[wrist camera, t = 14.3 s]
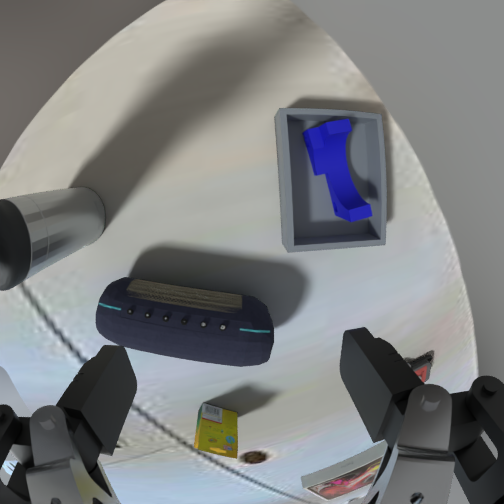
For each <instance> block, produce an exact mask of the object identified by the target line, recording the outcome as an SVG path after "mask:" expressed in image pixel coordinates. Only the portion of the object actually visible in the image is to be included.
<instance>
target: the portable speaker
mask: <svg viewBox="0 0 504 504" xmlns="http://www.w3.org/2000/svg"><path fill="white" fill-rule="evenodd" d="M154 287H155V288H154ZM157 289H158V290H157ZM159 289H160V290H161V291H160V290H159ZM172 290H173V291H172ZM178 291H179V292H178ZM165 292H166V293H165ZM183 293H184V294H186V295H187V296H186V295H184V294H183ZM179 294H180V295H179ZM191 295H192V296H191ZM203 295H204V296H203ZM189 296H190V297H189ZM199 296H200V297H199ZM205 296H206V297H207V298H206V297H205ZM203 297H204V298H203ZM211 299H212V300H211ZM96 328H97V330H98V331H99V333H100V334H101V335H102V336H104V337H105V338H106V339H108V340H110V341H112V342H114V343H116V344H118V345H120V346H123V347H127V348H131V349H136V350H140V351H145V352H149V353H154V354H159V355H164V356H170V357H175V358H181V359H187V360H193V361H199V362H206V363H214V364H221V365H230V366H239V367H243V366H253V365H260V364H262V363H265V362H267V361H268V360H269V358H270V354H271V350H272V347H273V343H274V327H273V323H272V319H271V317H270V314H269V312H268V309H267V306H266V305H265V304H263V303H262V302H261V301H259V300H258V299H257V298H255V297H252V296H246V295H238V294H230V293H223V292H216V291H209V290H202V289H195V288H188V287H182V286H176V285H169V284H163V283H157V282H151V281H146V280H140V279H134V278H127V277H124V278H121V279H119V280H116V281H114V282H112V283H111V284H109V285H108V286H107V287H106V289H105V290H104V292H103V294H102V295H101V297H100V299H99V303H98V307H97V311H96Z"/></svg>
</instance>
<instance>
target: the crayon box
mask: <svg viewBox="0 0 504 504" xmlns="http://www.w3.org/2000/svg"><path fill="white" fill-rule="evenodd" d="M194 447H195V448H198V450H201V451H205V452H209V453H213V454H217V455H221V456H226V457H231V458H236V459H237V453H238V452H237V450H238V432H237V412H232V411H229V410H225V409H222V408H219V407H215V406H212V405H208V404H206V403H203V404H202V405H201V407H200V409H199V412H198V419H197V427H196V435H195V442H194Z"/></svg>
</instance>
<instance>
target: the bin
mask: <svg viewBox="0 0 504 504" xmlns="http://www.w3.org/2000/svg"><path fill="white" fill-rule="evenodd" d="M274 118H275V131H276V144H277V158H278V173H279V190H280V208H281V228H282V244H283V245H284V247H285V249H286V250H287V252H288V253H289V252H302V251H315V250H328V249H341V248H354V247H367V246H379V245H385V244H386V216H387V189H386V161H385V146H384V134H383V124H382V115H381V114H377V113H369V112H359V111H348V110H334V109H312V108H279V110H278V111H277V113H276V115H275V117H274ZM343 119H349V121H350V125H351V128H352V131H351V132H350V133H349V134H348V136H347V139H346V160H347V165H348V169H349V173H350V176H351V179H352V181H353V184H354V186H355V188H356V190H357V191H358V193H359V195H360V196H361V197H362V199H363V200H364V201H366V202H367V203H369V204H370V205H371V210H372V216H371V217H368V218H364V219H361V220H357V221H354V222H349V221H347V220H345V219H342V218H340V217H338V216H335V213H334V209H333V205H332V200H331V196H330V192H329V188H328V184H327V180H326V176H325V174H322V175H317V176H314V172H313V169H312V165H311V161H310V158H309V154H308V151H307V147H306V144H305V141H304V137H303V134H302V133H303V132H304V131H306V130H307V129H311V128H316V127H319V126H321V125H323V124H324V123H326V122H332V121H337V120H343Z"/></svg>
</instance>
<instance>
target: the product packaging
mask: <svg viewBox="0 0 504 504" xmlns="http://www.w3.org/2000/svg"><path fill="white" fill-rule="evenodd" d="M387 445H388V444H387V442H386V440H385V441H383V442H381V443H379V444H377V445H375V446H373V447H372V448H370V449H368V450H366V451H364V452H361V453H359V454H357V455H355V456H353V457H351V458H349V459H346V460H344V461H342V462H339V463H337V464H335V465H332V466H330V467H327V468H324V469H322V470H319V471H317V472H314V473H311V474H308V475H305V476H302V477H301V480H302V486H303V489H305V490H307V491H309V492H310V493H312V494H314V495H316V496H318V497H320V498H322V499H324V500H326V501H329V500H332V499H335V498H338V497H340V496H343V495H346V494H348V493H351V492H353V491H356V490H358V489H361V488H363V487H365V486H367V485H370V484H372V482H373V480H374V478H375V475H376V473H377V470H378V468H379V465H380V463H381V460H382V457H383V454H384V452H385V449H386V447H387Z"/></svg>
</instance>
